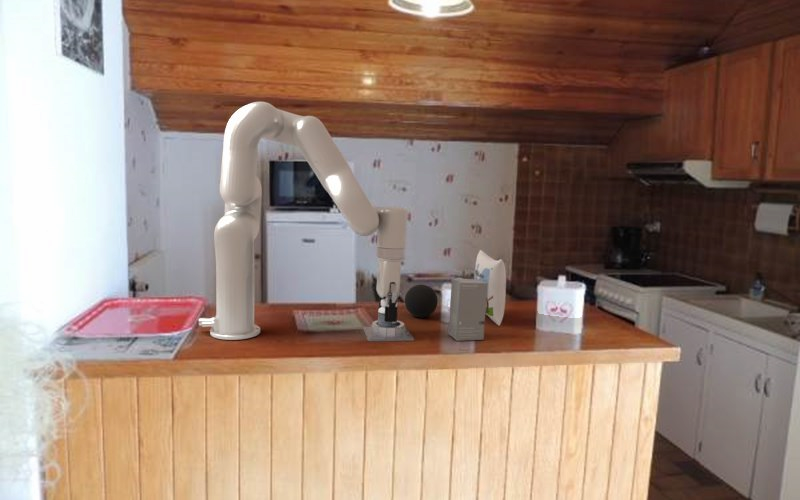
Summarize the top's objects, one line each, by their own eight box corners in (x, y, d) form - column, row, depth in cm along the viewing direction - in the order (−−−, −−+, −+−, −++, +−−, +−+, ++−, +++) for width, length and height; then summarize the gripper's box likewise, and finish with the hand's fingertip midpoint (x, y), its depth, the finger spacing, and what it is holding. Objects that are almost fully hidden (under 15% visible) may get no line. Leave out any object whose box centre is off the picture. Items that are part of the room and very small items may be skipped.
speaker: (439, 314, 177) (441, 283, 176) (433, 322, 167) (434, 289, 166) (408, 311, 179) (409, 280, 178) (400, 319, 170) (401, 286, 168)
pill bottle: (394, 336, 150) (395, 303, 149) (375, 334, 152) (376, 301, 150) (398, 330, 155) (400, 299, 154) (380, 328, 157) (381, 297, 155)
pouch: (491, 310, 186) (495, 249, 183) (509, 326, 167) (514, 259, 164) (467, 310, 185) (471, 249, 182) (483, 326, 166) (487, 258, 163)
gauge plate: (368, 341, 147) (368, 329, 147) (363, 329, 158) (363, 318, 157) (413, 340, 149) (414, 329, 149) (405, 328, 160) (406, 318, 160)
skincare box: (456, 341, 150) (459, 282, 148) (446, 333, 157) (449, 277, 155) (485, 340, 152) (489, 282, 150) (475, 332, 159) (478, 277, 157)
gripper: (372, 248, 158) (369, 308, 160) (381, 258, 141) (378, 325, 144) (398, 249, 159) (395, 308, 162) (411, 259, 143) (407, 325, 145)
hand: (387, 316), depth 153 cm, fingers open, 9 cm apart
